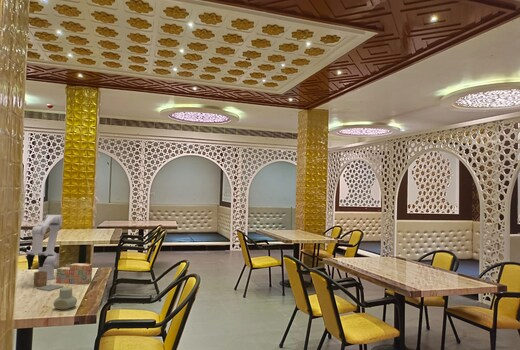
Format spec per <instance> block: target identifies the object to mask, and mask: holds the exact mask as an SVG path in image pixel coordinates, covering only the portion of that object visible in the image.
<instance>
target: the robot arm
mask: <svg viewBox="0 0 520 350" xmlns="http://www.w3.org/2000/svg"><path fill="white" fill-rule="evenodd" d="M63 220H64V219H63V215H62V214H46V216H45V218H44V220H42V221H41V222H40V223H39V224H37V225H35V226H33V227H32V228H31V229H32V230H31V237H32V245H31V251H26V252H25V259H26V260H27V264H28V267H29V268H30V267H31V268H32V267H33V266H34V265H33V264H34V259H35V258H36V256H38V268H37V269H38V271H37V272H39V271H44V272H47V281H49V280H52V279H57V278H56V277H57V276H55V275H54V273H55V272H54V271H55V266H56V264H57V263H58V253H57V252H55V248H56V242H57V237H58V233H59V229H60V228H62V226H63V222H64V221H63ZM48 228H49V229H50V231H49V235H48V241H47V244H46V249H45V250H44V251H43V249H44V248H43V246H44V235H46V232H47V230H48Z"/></svg>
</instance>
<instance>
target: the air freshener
mask: <svg viewBox="0 0 520 350" xmlns="http://www.w3.org/2000/svg"><path fill="white" fill-rule="evenodd" d="M58 295H59V296H58V297H57V298H55V300H54V301H53V306H54V308H56V309H58V310H60V311H62V310H63V311H65V310H69V309H72V308H73V307H74V306H77V303H78V300H77V297H75V296H74V295H73V288H72V287H62V288H59V293H58Z"/></svg>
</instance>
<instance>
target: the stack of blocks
mask: <svg viewBox="0 0 520 350" xmlns="http://www.w3.org/2000/svg"><path fill="white" fill-rule="evenodd" d="M70 264H71V263H70ZM92 274H93V264H92V263H76V262H75V263H72V264H71V265H70V266H69V267H66V266H62V267H58V268H56V276H55V277H56V278H55V281H56V283H58V284H72V285H88V284H91V283H92V276H93V275H92Z"/></svg>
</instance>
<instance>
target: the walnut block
mask: <svg viewBox="0 0 520 350" xmlns="http://www.w3.org/2000/svg"><path fill="white" fill-rule="evenodd" d="M47 281H48V280H47V272H44V271H39V272H38V271H36V272H34V273H33V288H35V289H36V288H38V287H42V286H46V285H48V284H47Z"/></svg>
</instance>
